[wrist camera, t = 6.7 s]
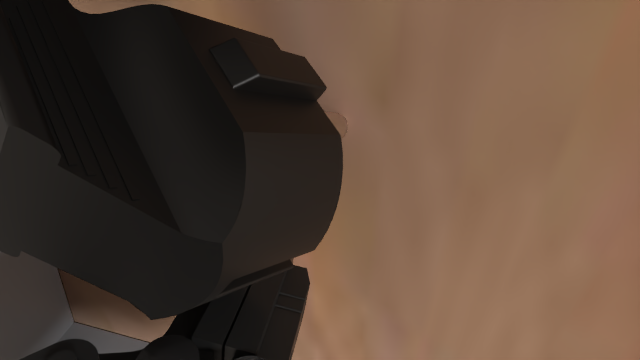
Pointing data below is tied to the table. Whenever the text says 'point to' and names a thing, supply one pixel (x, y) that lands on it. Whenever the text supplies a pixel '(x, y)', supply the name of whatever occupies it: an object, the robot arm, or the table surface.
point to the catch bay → (43, 312)
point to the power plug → (160, 151)
